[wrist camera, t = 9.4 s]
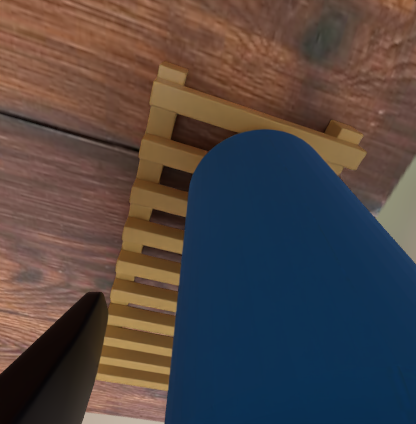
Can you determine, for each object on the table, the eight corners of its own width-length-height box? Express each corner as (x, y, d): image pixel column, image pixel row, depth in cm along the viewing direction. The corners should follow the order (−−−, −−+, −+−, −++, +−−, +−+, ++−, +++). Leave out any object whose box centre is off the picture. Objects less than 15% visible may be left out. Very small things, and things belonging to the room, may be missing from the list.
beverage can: (269, 257, 17) (367, 612, 7) (167, 210, 15) (87, 596, 5) (350, 166, 14) (760, 561, 4) (234, 94, 12) (393, 470, 2)
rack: (163, 60, 14) (155, 66, 11) (351, 126, 15) (374, 142, 13) (102, 350, 26) (92, 379, 24) (209, 369, 27) (209, 397, 25)
